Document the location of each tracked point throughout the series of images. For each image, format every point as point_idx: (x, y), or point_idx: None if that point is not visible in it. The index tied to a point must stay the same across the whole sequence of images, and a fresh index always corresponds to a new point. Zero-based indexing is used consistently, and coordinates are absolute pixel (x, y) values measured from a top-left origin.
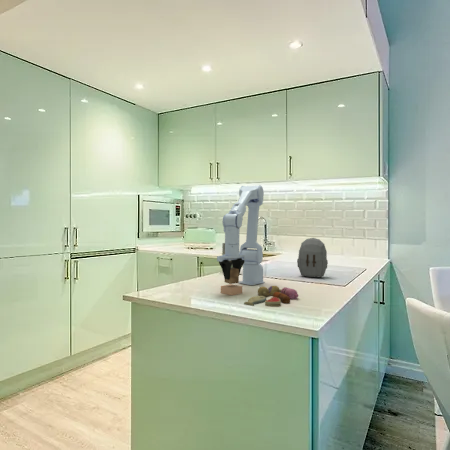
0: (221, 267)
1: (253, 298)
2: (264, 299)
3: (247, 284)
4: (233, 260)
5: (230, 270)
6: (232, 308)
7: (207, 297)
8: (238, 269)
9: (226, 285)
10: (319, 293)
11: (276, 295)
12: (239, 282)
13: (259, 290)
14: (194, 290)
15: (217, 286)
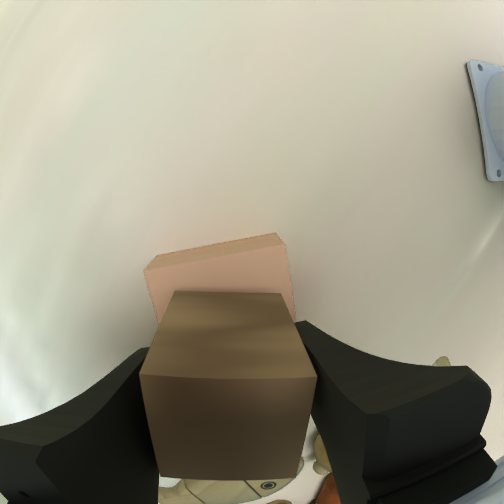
0: (54, 414)
1: (218, 485)
2: (256, 499)
3: (483, 144)
4: (372, 464)
5: (164, 469)
6: None
7: (33, 319)
8: (289, 474)
9: (204, 276)
10: (498, 436)
11: (324, 501)
12: (470, 72)
13: (320, 456)
14: (47, 90)
15: (279, 37)
